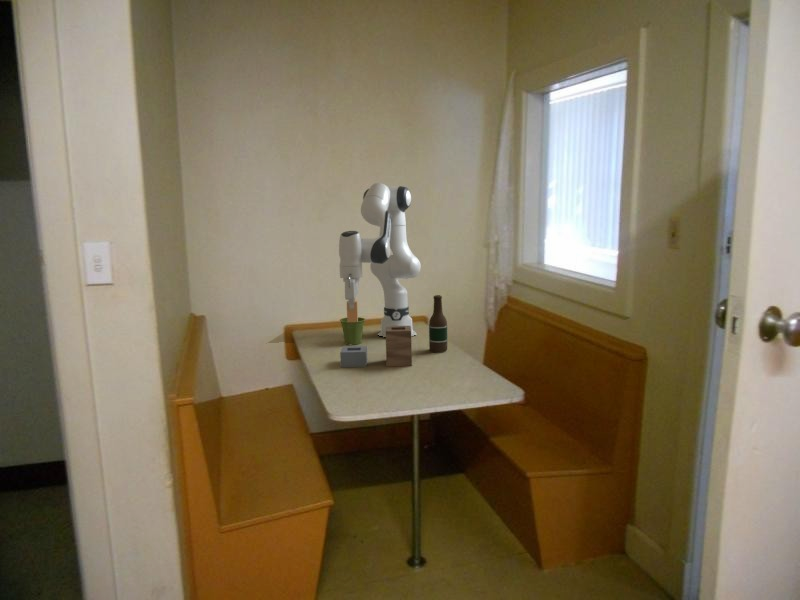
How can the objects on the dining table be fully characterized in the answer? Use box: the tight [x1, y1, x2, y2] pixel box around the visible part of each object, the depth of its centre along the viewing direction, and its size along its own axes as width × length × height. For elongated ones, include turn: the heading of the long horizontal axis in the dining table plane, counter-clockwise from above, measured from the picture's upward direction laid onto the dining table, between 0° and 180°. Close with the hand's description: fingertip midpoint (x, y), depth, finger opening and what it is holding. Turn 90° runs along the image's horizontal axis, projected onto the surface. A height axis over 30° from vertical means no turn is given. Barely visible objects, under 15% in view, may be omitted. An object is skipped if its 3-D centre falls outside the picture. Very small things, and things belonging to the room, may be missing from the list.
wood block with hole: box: [385, 326, 413, 367], centre depth 239 cm, size 10×10×14 cm
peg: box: [346, 300, 359, 322], centre depth 237 cm, size 3×4×8 cm
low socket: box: [339, 345, 369, 368], centre depth 240 cm, size 10×10×6 cm
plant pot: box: [339, 316, 366, 345], centre depth 274 cm, size 12×12×11 cm
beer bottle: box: [428, 294, 448, 353], centre depth 256 cm, size 8×8×24 cm
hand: (352, 307), depth 237 cm, fingers closed on peg, 3 cm apart
